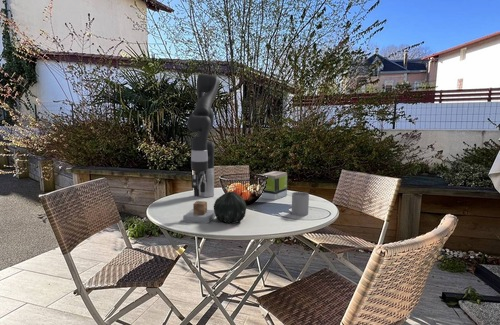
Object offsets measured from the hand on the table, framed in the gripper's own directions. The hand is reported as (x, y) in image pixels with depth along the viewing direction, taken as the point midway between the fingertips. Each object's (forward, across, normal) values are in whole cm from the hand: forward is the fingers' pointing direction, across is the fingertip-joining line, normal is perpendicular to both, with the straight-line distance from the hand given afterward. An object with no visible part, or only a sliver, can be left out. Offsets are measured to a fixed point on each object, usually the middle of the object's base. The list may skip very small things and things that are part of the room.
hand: (199, 194), depth 146 cm
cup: (+12, +18, -46) cm, 51 cm away
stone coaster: (+11, 0, 0) cm, 11 cm away
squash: (+12, -1, -15) cm, 19 cm away
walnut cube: (+9, 0, 0) cm, 9 cm away
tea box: (+12, +50, -30) cm, 59 cm away
